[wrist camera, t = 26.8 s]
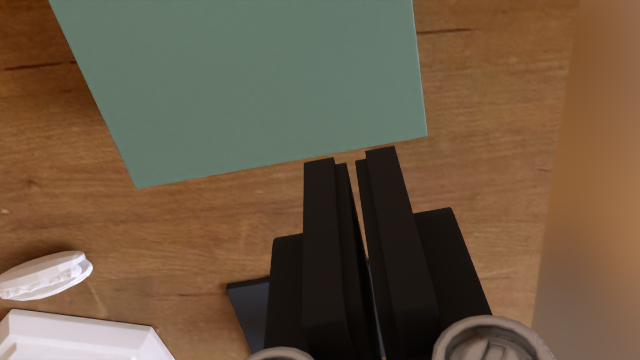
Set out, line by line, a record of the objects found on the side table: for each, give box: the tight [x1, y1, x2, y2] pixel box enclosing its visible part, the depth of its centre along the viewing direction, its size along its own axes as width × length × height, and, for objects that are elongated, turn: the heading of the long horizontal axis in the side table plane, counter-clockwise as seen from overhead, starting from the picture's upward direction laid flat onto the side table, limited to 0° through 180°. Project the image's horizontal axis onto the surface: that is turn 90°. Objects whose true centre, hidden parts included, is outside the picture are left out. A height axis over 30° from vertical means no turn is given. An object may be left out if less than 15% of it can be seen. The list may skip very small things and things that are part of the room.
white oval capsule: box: [0, 251, 93, 301], centre depth 42 cm, size 3×8×3 cm, turn 110°
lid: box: [48, 0, 428, 189], centre depth 27 cm, size 16×12×1 cm
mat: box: [226, 261, 385, 357], centre depth 47 cm, size 14×11×1 cm
